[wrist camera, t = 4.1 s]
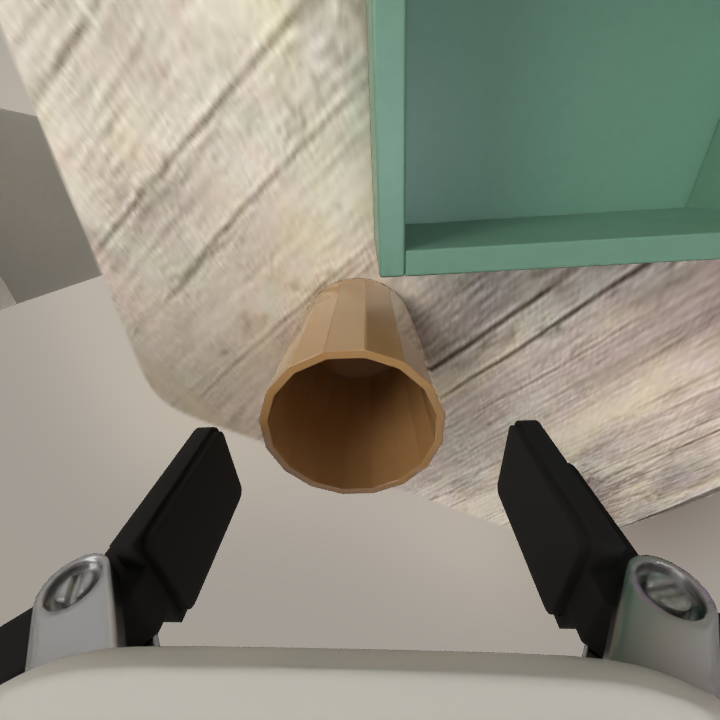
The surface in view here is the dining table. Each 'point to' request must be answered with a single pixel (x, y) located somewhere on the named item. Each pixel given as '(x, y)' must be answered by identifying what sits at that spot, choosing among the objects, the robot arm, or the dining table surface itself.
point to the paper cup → (353, 394)
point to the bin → (543, 133)
